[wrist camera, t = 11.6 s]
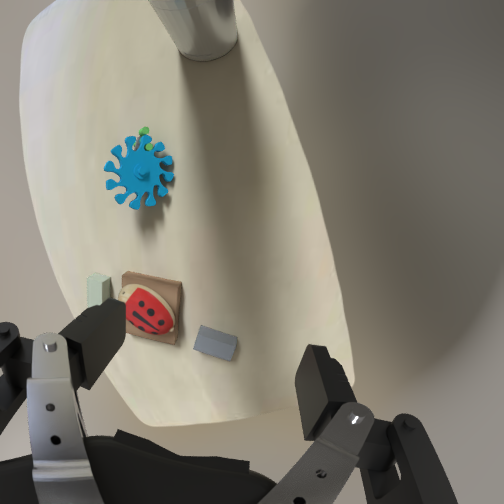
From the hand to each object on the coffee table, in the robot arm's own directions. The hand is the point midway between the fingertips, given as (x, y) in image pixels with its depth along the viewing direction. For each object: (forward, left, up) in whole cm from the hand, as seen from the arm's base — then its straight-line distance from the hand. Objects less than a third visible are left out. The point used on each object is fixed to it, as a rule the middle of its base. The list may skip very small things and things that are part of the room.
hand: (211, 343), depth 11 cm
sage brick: (+14, -21, -28) cm, 38 cm away
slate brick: (+18, -1, -28) cm, 33 cm away
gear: (-6, -15, -28) cm, 32 cm away
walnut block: (+14, -12, -28) cm, 34 cm away
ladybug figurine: (+14, -12, -26) cm, 31 cm away
